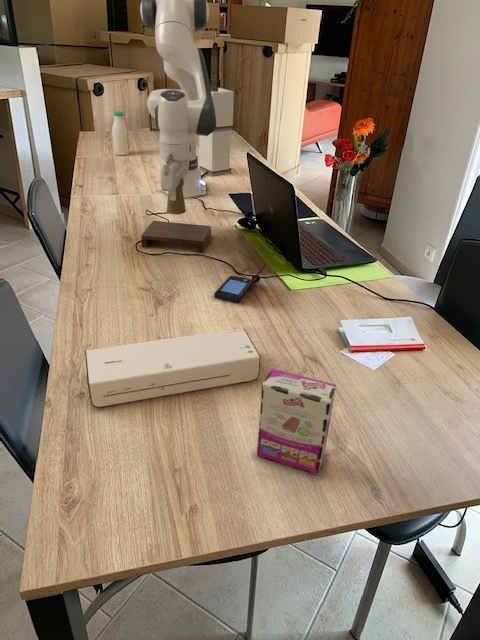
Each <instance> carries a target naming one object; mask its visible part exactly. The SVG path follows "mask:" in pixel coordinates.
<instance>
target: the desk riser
mask: <svg viewBox="0 0 480 640" xmlns="http://www.w3.org/2000/svg"><path fill="white" fill-rule="evenodd" d="M140 238H141V239H140V240H141V247H142V248H148V246H150V244H151V242H152V241H160V242H172V243H179V244H180V243H182V244H190V245H191V244H193V245H197V247H198V250H197V251H198V253H199V254H200V253H201V254H204V252H205V250H206V248H207V246H208V244H209V242H210V240H211V238H212V225H205V224H195V223H194V224H193V223H184V222H174V221H173V222H172V221H163V220H152V221H151V223H150V224H149V225H148V226H147V227H146V229H145V230H144V231H143V233H142V234H141V235H140Z"/></svg>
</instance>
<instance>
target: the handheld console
mask: <svg viewBox="0 0 480 640" xmlns="http://www.w3.org/2000/svg"><path fill="white" fill-rule="evenodd" d="M266 266H267V263H264V264H263V266H261V268H260V269H259V270H258V272H257V273H256V274H255V276H253V277H251V279H250V278H247V277H246V278H245V277H240V276H236V275H230V276H229V277H228V278H227V279H226V280H225V281H224V282H223V283H222V284H221V286H219V288H217V289H216V291H215V292H214V293H213V294H214V295H213V297H214V298H215V299H218V300H222V301H227V302H231V303H236V304H240V302H242V301H241V300H242V299H243V298H244V297H245V295H246V293H248V291H249V290H250V289H251V288H252V287H253V286H254V284H255V281H256V279H257V278H258V277H259V275H260V274H261V273H262V272H263V271H264V269H265V268H266Z"/></svg>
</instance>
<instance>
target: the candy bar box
mask: <svg viewBox="0 0 480 640" xmlns="http://www.w3.org/2000/svg"><path fill="white" fill-rule="evenodd" d="M336 388H337V384H335V383H332V382H328V381H323V380H319V379H316V378H312V377H307V376H303V375H300V374H297V373H292V372H287V371H284V370H280V369H276V368H270V370H269V372H268V374H267V375H266V377H265V379H264V381H263V382H262V384H261V393H260V395H261V396H260V409H259V411H260V412H259V423H258V437H257V448H256V456H257V457H259V458H262V459H265V460H268V461H272V462H275V463H277V464H280V465H283V466H288V467H291V468H294V469H298V470H300V471H304V472H307V473H310V474H313V475H315V476H318V475H319V473H320V469H321V466H322V463H323V460H324V457H325V454H326V453H325V452H326V447H327V441H328V435H329V429H330V425H331V419H332V418H331V417H332V412H333V406H334V400H335V395H336V394H335V393H336V390H337V389H336Z"/></svg>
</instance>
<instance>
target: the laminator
mask: <svg viewBox="0 0 480 640" xmlns="http://www.w3.org/2000/svg"><path fill="white" fill-rule="evenodd" d="M84 356H85V357H84V358H85V366H86V367H85V368H86V379H87V387H88V394H89V400H90V404H91V406H92V407H94V408H98V409H99V408H107V407H112V406H118V405H124V404H130V403H136V402H141V401H147V400H152V399H157V398H163V397H170V396H175V395H180V394H181V395H182V394H187V393H193V392H199V391H204V390H210V389H215V388H216V389H217V388H222V387H227V386H232V385H233V386H234V385H240V384H245V383H250V382H254V381H256V380H257V379H259V376H260V372H261V358H262V357H261V354H260V353H259V351H258V349H257V348H256V346H255V344H254V342H253V340H252V339H251V337H250V336H249V334H248V332H247V330H246V328H245V327H243V328H242V327H241V328H235V329H234V328H233V329H227V330H219V331H214V332H206V333H200V334H199V333H198V334H193V335H185V336H179V337H172V338H164V339H159V340H158V339H157V340H149V341H143V342H135V343H129V344H121V345H117V346H116V345H114V346H109V347H108V346H107V347H102V348H95V349H93V348H92V349H87V350H84Z"/></svg>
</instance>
